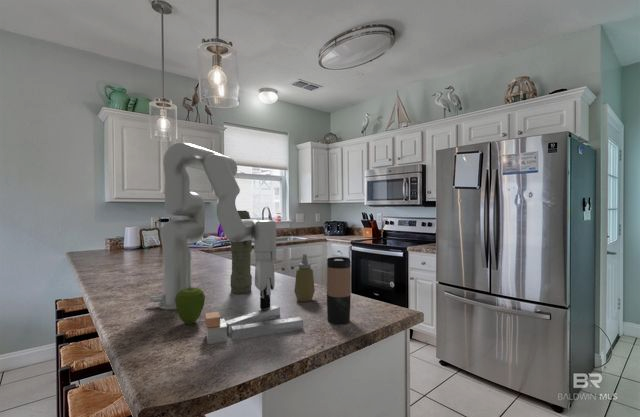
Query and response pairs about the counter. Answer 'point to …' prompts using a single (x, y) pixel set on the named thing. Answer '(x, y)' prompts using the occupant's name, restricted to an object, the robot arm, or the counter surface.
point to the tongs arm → (254, 317)
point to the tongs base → (252, 329)
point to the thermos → (241, 263)
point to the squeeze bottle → (304, 281)
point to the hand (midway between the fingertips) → (265, 308)
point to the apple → (189, 304)
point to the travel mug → (338, 290)
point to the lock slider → (212, 319)
